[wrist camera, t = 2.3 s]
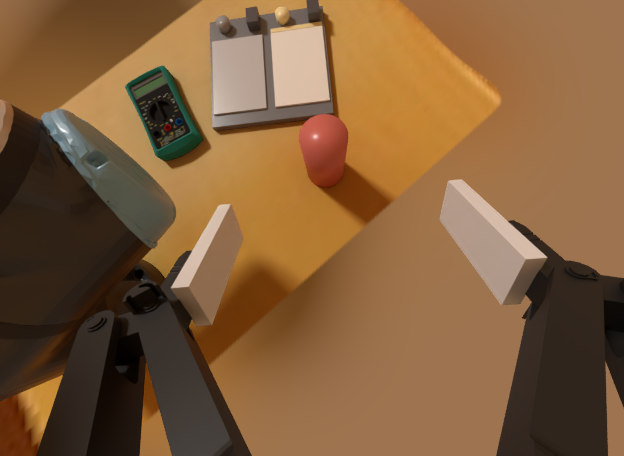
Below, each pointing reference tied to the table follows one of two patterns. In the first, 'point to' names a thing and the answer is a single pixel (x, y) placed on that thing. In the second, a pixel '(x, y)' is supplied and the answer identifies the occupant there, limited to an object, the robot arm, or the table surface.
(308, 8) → the board
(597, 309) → the robot arm
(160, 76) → the digital multimeter
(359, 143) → the table surface
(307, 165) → the pink domed cylinder
